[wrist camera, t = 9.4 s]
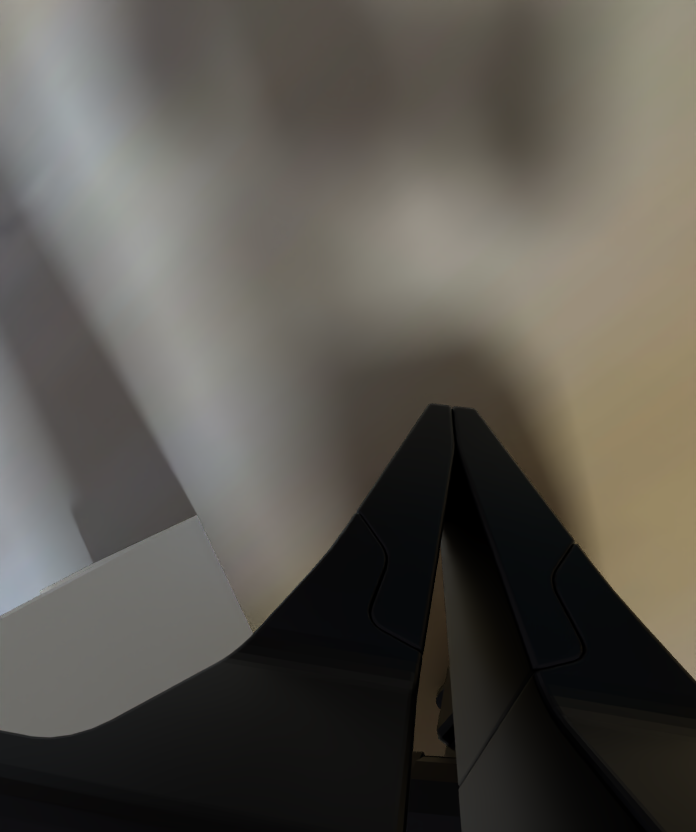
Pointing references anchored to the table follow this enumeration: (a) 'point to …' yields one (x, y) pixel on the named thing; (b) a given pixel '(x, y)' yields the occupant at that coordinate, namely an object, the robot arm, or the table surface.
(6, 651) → the block
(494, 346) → the table surface
